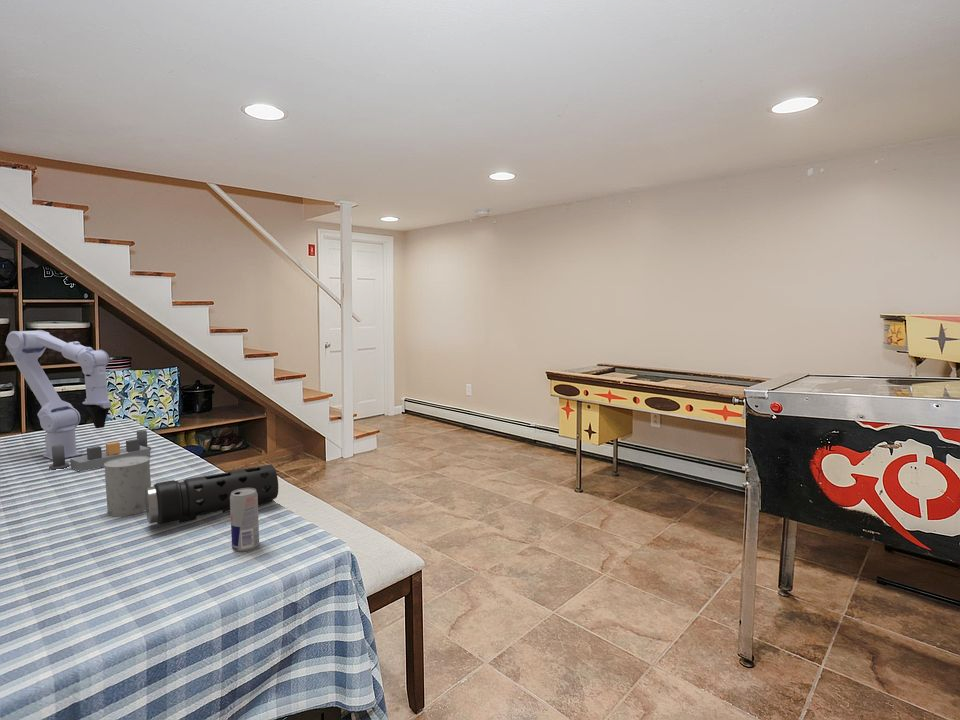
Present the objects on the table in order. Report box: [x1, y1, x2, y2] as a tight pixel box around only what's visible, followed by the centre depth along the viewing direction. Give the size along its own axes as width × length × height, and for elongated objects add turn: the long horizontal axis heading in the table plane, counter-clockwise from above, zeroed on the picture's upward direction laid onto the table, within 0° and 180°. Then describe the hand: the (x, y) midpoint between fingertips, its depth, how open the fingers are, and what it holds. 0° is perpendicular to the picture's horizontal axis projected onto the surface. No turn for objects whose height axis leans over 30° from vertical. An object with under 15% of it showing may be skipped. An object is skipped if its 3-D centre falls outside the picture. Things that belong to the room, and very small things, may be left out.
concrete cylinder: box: [103, 456, 152, 517], centre depth 132 cm, size 10×10×12 cm
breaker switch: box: [105, 441, 121, 455], centre depth 170 cm, size 2×3×4 cm, turn 147°
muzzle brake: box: [145, 464, 279, 525], centre depth 129 cm, size 10×28×10 cm, turn 128°
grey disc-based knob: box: [48, 445, 70, 470], centre depth 164 cm, size 5×5×7 cm
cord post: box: [136, 430, 152, 451], centre depth 184 cm, size 5×5×7 cm
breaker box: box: [70, 438, 151, 471], centre depth 170 cm, size 7×20×6 cm, turn 147°
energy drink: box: [229, 488, 260, 552], centre depth 112 cm, size 5×5×12 cm
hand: (99, 427), depth 174 cm, fingers closed
